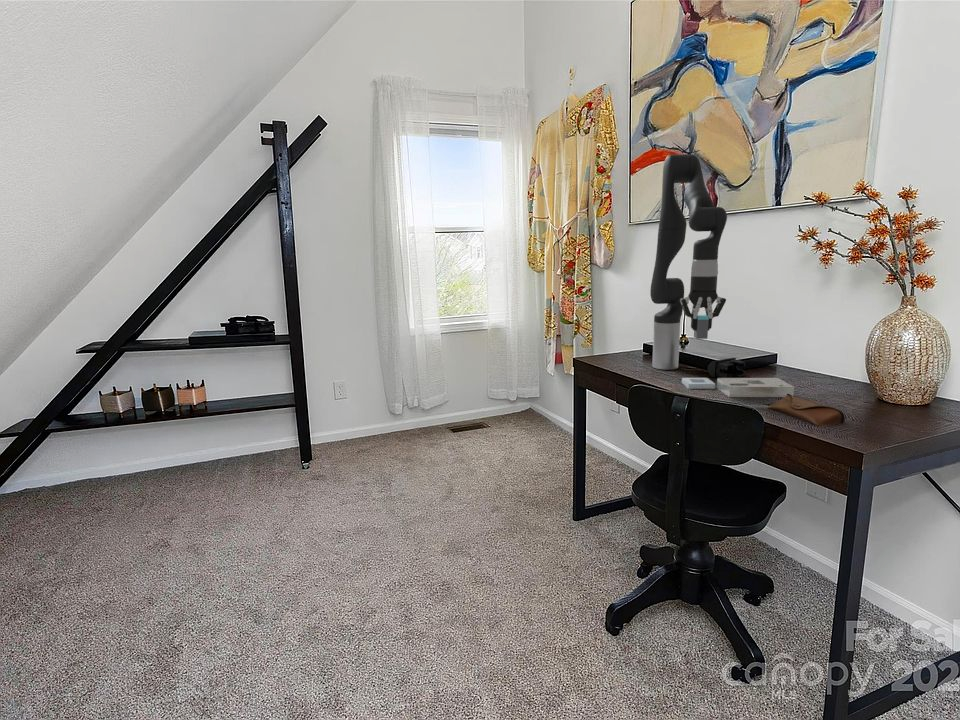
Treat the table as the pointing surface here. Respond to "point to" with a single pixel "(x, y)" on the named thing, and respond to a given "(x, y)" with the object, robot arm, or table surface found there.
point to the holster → (698, 383)
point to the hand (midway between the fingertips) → (700, 330)
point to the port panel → (754, 387)
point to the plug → (702, 327)
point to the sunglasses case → (808, 411)
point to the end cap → (726, 368)
